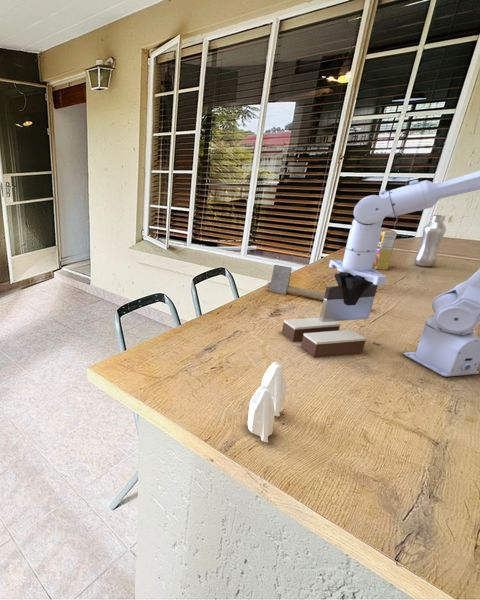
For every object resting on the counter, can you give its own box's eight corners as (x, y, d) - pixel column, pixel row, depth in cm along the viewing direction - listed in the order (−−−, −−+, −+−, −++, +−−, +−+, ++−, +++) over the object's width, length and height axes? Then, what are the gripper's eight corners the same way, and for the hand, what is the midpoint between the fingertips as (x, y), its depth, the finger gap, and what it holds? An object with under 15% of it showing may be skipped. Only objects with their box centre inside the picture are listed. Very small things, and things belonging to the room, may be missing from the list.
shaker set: (262, 399, 70) (270, 350, 66) (285, 407, 67) (295, 357, 63) (242, 432, 62) (249, 380, 58) (267, 443, 59) (277, 389, 55)
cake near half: (362, 353, 84) (366, 338, 82) (313, 357, 83) (317, 342, 82) (346, 343, 88) (350, 329, 87) (300, 347, 88) (303, 333, 86)
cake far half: (337, 337, 91) (340, 324, 90) (292, 341, 91) (295, 327, 89) (324, 329, 96) (327, 316, 94) (281, 333, 95) (283, 319, 94)
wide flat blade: (368, 318, 87) (378, 284, 84) (322, 322, 87) (329, 288, 83) (364, 316, 88) (373, 283, 85) (318, 320, 88) (326, 286, 85)
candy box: (366, 263, 148) (375, 227, 143) (378, 264, 147) (388, 227, 141) (374, 269, 140) (384, 231, 135) (387, 269, 139) (398, 231, 134)
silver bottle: (418, 267, 139) (434, 217, 132) (409, 263, 145) (423, 214, 138) (438, 268, 138) (455, 217, 130) (428, 263, 144) (443, 214, 136)
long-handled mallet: (368, 312, 104) (265, 290, 126) (370, 310, 106) (267, 288, 127) (377, 282, 101) (269, 264, 122) (379, 281, 102) (271, 263, 123)
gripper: (322, 243, 87) (311, 294, 92) (370, 258, 74) (355, 316, 79) (349, 242, 88) (337, 292, 93) (402, 256, 74) (385, 314, 79)
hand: (347, 303), depth 86 cm, fingers closed on wide flat blade, 1 cm apart
